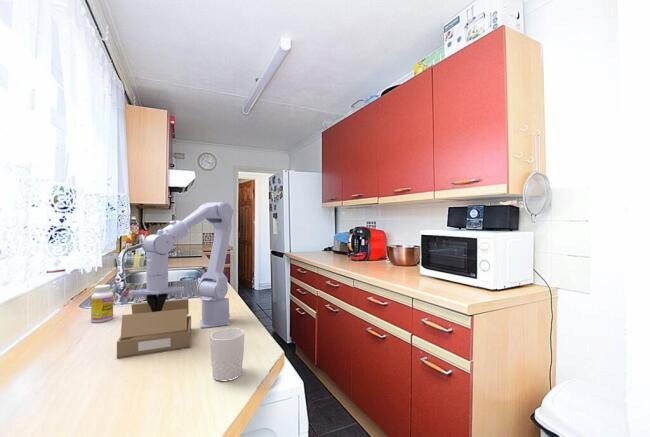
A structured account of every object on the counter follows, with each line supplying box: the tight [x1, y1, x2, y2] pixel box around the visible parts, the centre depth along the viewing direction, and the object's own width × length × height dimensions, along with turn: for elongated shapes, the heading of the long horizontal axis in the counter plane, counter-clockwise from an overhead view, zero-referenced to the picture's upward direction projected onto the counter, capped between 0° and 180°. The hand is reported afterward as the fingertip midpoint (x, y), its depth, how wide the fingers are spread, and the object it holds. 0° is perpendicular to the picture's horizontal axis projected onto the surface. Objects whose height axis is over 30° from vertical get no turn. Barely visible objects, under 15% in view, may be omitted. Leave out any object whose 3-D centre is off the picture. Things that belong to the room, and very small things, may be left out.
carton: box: [116, 315, 192, 359], centre depth 94 cm, size 18×17×4 cm
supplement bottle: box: [90, 284, 114, 324], centre depth 114 cm, size 7×7×13 cm
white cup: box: [209, 327, 245, 380], centre depth 74 cm, size 8×8×10 cm
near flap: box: [120, 309, 188, 338], centre depth 87 cm, size 16×6×1 cm
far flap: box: [131, 298, 190, 315], centre depth 100 cm, size 16×6×1 cm
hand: (157, 319), depth 91 cm, fingers closed
